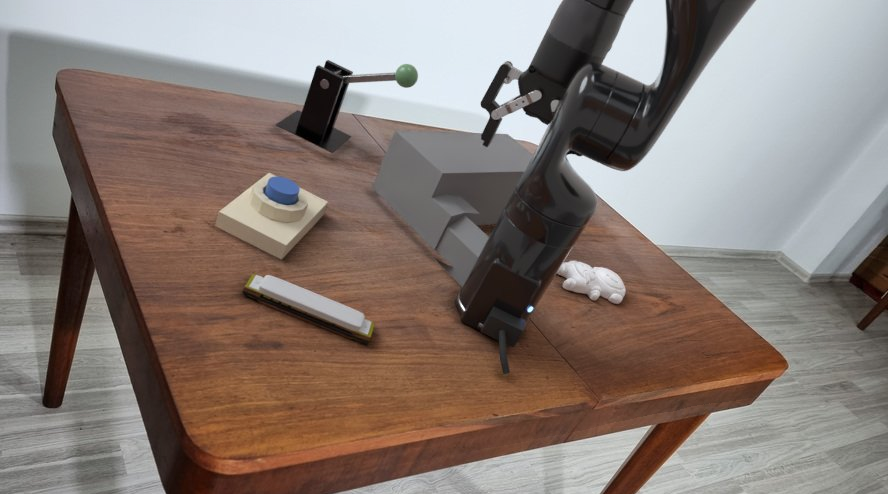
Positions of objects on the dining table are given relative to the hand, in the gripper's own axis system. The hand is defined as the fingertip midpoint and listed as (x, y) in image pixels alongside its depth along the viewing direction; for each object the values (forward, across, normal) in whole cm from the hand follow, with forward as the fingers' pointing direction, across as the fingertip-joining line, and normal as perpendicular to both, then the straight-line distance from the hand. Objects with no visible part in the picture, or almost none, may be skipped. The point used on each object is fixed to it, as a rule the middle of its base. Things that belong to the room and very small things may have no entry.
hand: (515, 160), depth 91 cm
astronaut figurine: (+17, +18, +12) cm, 27 cm away
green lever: (+5, -25, +13) cm, 29 cm away
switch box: (+16, -23, -14) cm, 32 cm away
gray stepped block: (+17, -1, +9) cm, 19 cm away
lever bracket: (+16, -31, +13) cm, 38 cm away
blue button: (+13, -23, -15) cm, 30 cm away
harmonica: (+17, -12, -28) cm, 34 cm away
